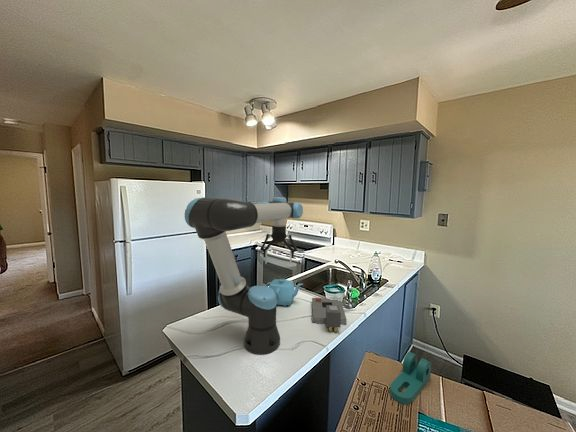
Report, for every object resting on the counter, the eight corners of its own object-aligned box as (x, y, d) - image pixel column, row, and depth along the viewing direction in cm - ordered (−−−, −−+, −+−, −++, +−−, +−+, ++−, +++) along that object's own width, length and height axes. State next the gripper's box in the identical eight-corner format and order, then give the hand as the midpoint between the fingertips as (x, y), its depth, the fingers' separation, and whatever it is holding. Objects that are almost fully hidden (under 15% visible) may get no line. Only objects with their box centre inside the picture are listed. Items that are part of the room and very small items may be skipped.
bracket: (410, 368, 92) (411, 348, 91) (430, 379, 87) (431, 358, 86) (385, 394, 80) (387, 372, 79) (407, 408, 75) (408, 385, 74)
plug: (340, 333, 113) (340, 311, 111) (326, 333, 113) (327, 311, 112) (338, 325, 120) (338, 304, 118) (325, 324, 120) (326, 304, 119)
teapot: (273, 311, 132) (273, 287, 131) (262, 298, 147) (262, 277, 145) (303, 305, 140) (303, 282, 138) (290, 293, 155) (290, 272, 153)
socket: (346, 325, 120) (346, 317, 119) (313, 323, 121) (313, 316, 120) (340, 303, 142) (340, 297, 141) (311, 302, 143) (312, 296, 142)
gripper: (301, 225, 139) (300, 261, 141) (257, 224, 139) (256, 261, 141) (302, 226, 132) (301, 265, 134) (255, 226, 132) (255, 264, 134)
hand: (278, 263), depth 138 cm, fingers open, 13 cm apart
